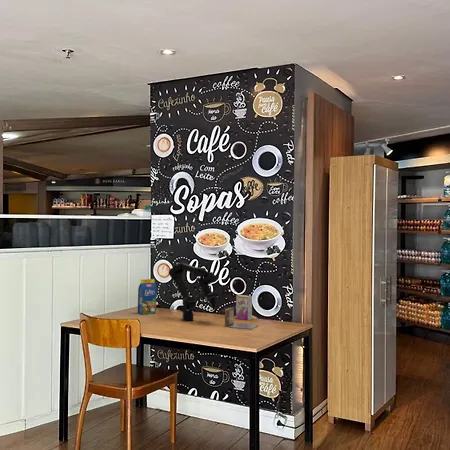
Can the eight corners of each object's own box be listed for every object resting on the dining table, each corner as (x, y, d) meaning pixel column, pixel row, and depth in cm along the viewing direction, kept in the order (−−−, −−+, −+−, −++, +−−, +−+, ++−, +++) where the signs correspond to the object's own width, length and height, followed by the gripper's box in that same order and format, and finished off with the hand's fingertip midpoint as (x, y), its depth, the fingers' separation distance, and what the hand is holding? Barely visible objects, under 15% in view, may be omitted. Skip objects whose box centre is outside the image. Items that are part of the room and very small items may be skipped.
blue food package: (156, 313, 417) (157, 279, 418) (142, 314, 410) (143, 279, 410) (151, 312, 422) (152, 278, 423) (137, 313, 414) (138, 279, 415)
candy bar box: (235, 318, 400) (235, 295, 400) (240, 318, 404) (240, 294, 404) (247, 320, 392) (247, 296, 393) (252, 319, 396) (252, 296, 396)
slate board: (228, 327, 360) (228, 326, 360) (237, 324, 375) (237, 323, 375) (251, 329, 355) (251, 328, 355) (258, 325, 370) (258, 325, 370)
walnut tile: (224, 326, 364) (225, 309, 364) (230, 324, 374) (230, 307, 374) (228, 327, 363) (228, 309, 364) (233, 324, 373) (234, 307, 373)
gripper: (190, 291, 384) (199, 313, 383) (196, 290, 366) (206, 312, 365) (205, 285, 387) (214, 306, 386) (211, 283, 370) (221, 305, 369)
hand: (213, 307), depth 377 cm, fingers closed
